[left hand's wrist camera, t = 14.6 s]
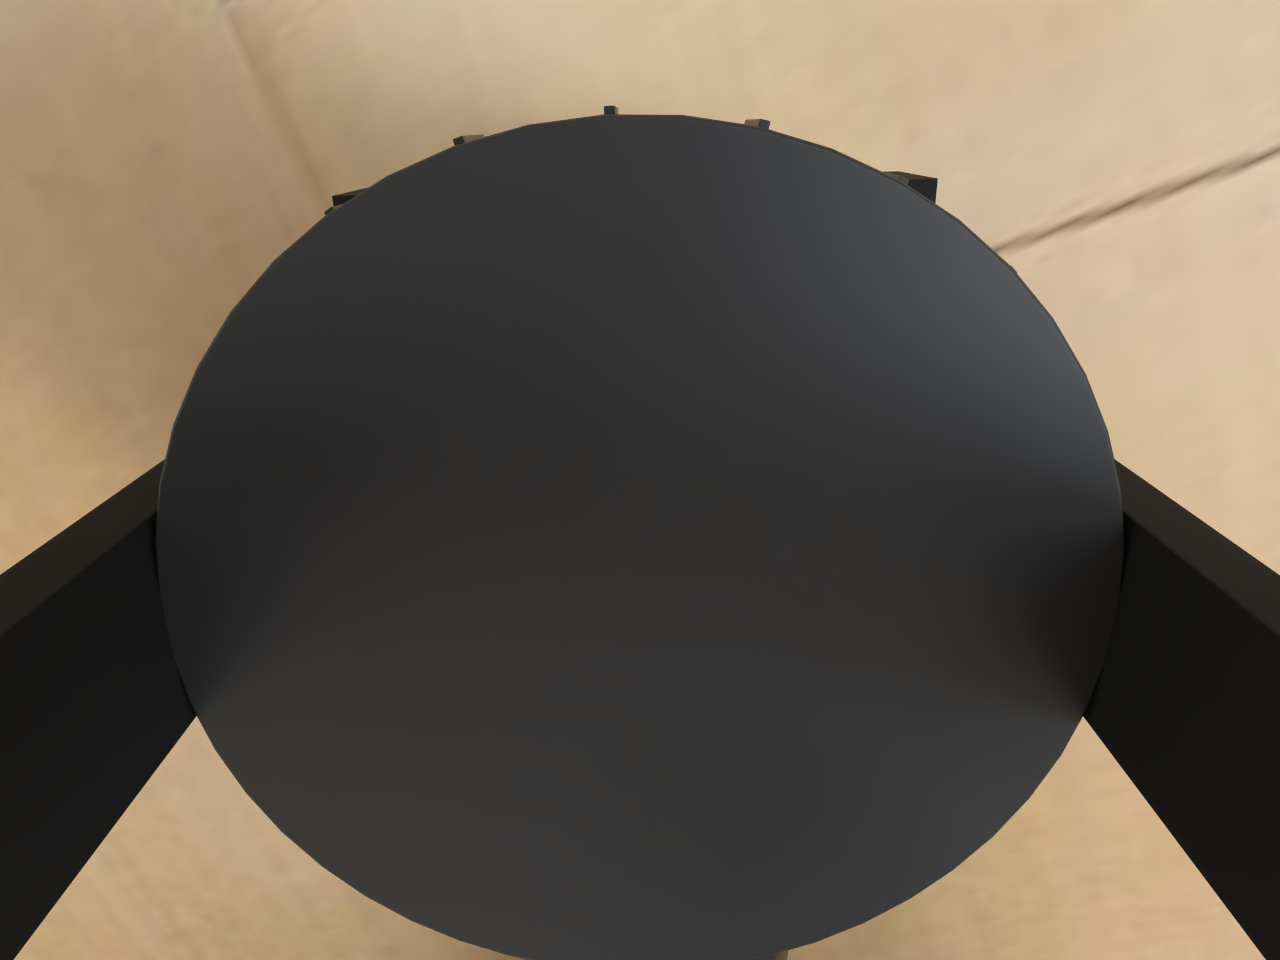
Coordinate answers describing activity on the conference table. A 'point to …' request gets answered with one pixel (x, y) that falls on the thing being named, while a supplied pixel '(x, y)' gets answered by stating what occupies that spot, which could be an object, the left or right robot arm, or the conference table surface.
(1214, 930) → the conference table surface
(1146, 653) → the left robot arm
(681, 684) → the lid
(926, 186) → the right robot arm
